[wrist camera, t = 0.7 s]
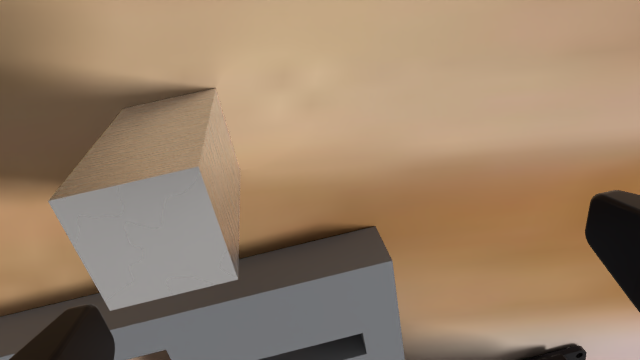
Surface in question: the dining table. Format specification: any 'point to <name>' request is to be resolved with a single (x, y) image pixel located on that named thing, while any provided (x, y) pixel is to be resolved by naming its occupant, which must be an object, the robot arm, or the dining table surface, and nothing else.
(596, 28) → the dining table surface
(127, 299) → the steel peg
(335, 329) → the socket plate
